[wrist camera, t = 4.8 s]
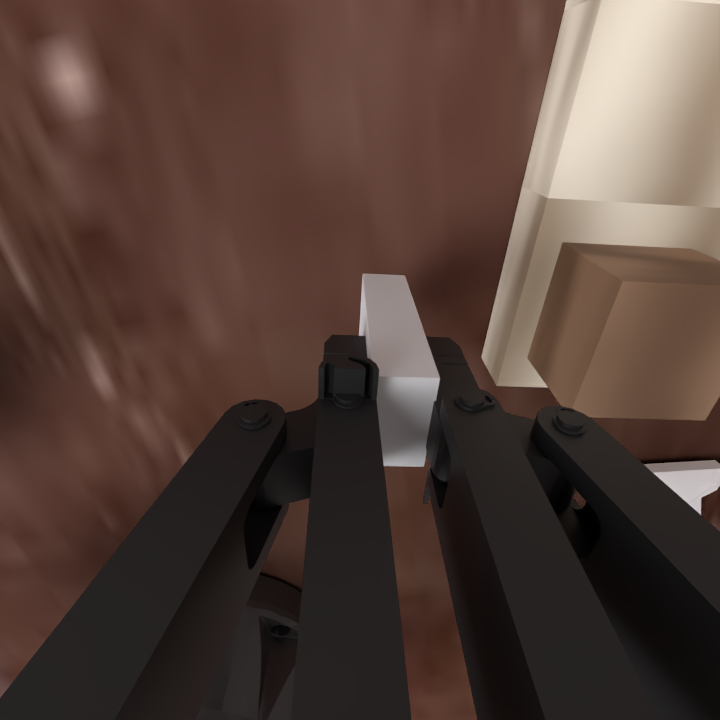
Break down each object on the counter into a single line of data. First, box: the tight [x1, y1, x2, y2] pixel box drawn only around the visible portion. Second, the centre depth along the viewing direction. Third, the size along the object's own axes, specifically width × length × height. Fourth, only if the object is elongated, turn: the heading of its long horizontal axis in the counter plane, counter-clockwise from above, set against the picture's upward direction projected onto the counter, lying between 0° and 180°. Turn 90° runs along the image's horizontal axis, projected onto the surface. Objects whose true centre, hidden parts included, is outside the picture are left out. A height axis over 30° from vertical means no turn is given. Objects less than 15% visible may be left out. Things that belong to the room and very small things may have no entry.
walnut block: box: [527, 242, 720, 420], centre depth 15 cm, size 5×5×4 cm
